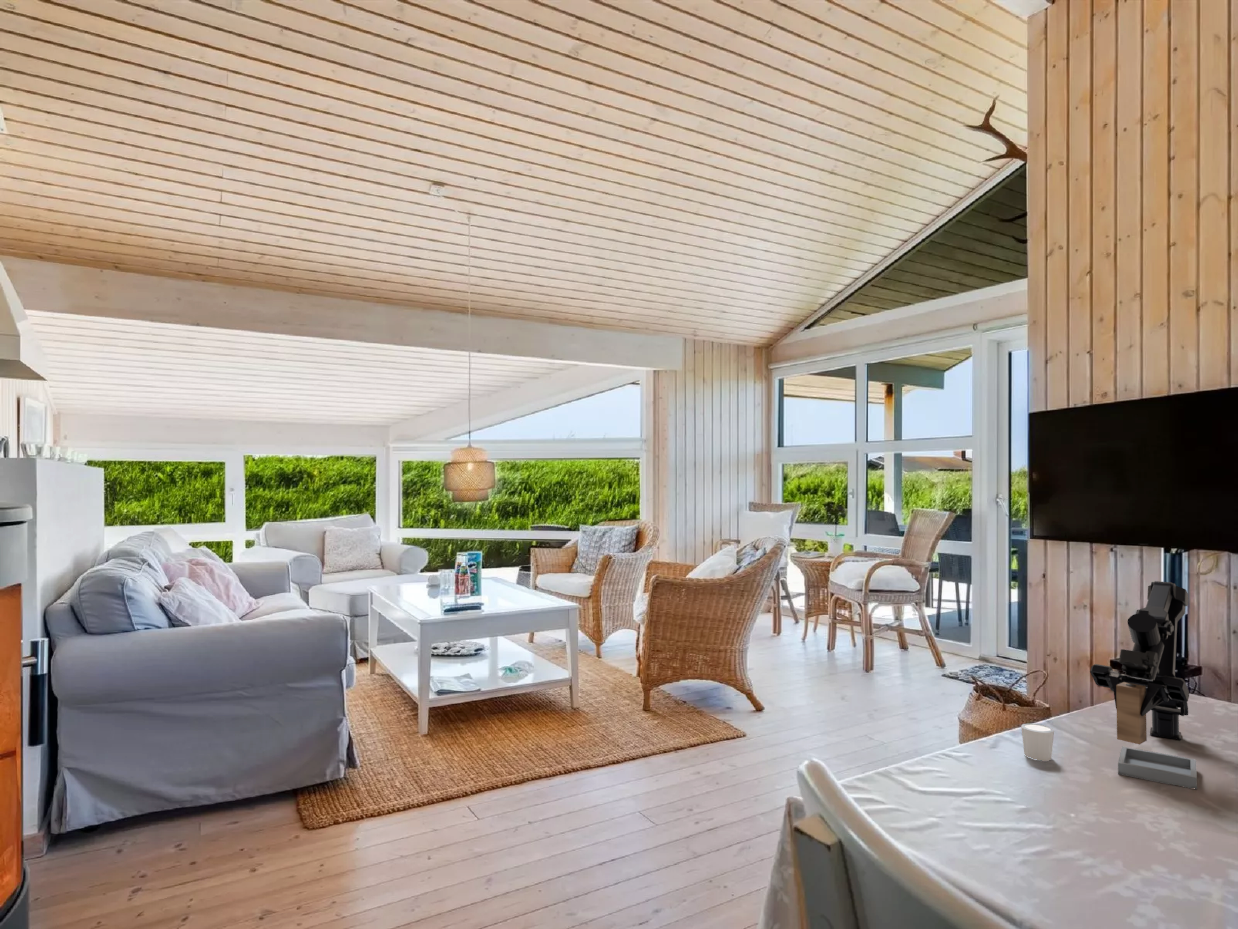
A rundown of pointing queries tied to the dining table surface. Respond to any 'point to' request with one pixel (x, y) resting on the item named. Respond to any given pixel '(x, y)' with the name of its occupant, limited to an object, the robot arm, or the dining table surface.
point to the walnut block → (1130, 713)
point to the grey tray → (1158, 767)
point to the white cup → (1037, 741)
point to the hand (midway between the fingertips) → (1129, 712)
